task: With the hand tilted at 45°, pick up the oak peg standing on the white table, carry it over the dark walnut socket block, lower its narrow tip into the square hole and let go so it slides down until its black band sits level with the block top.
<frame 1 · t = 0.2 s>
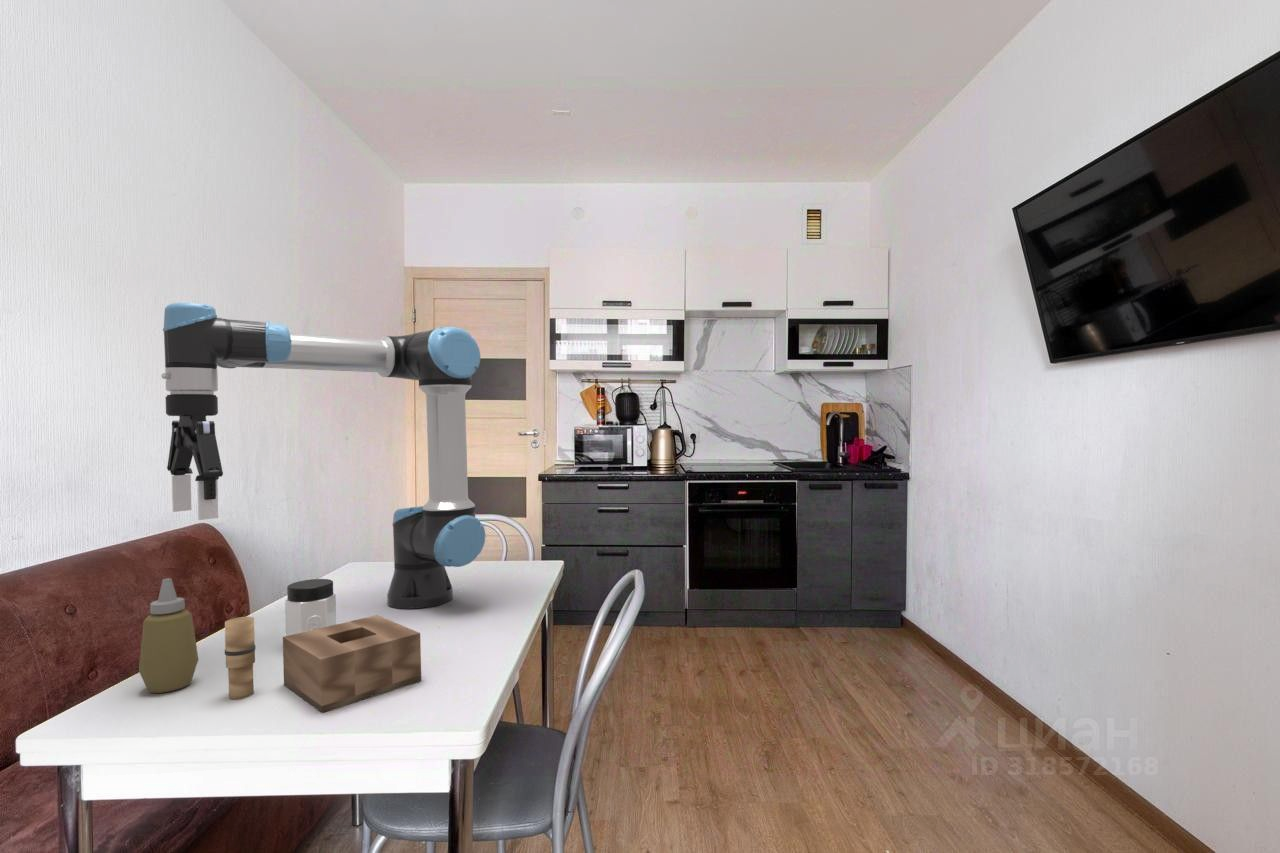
hand: (194, 514, 115), 28 cm above the table, tool pointing down, fingers open, 13 cm apart
squeeze bottle: (169, 688, 110), on the table
walnut socket block: (352, 682, 110), on the table
oak peg: (241, 694, 106), on the table
jar: (311, 645, 130), on the table
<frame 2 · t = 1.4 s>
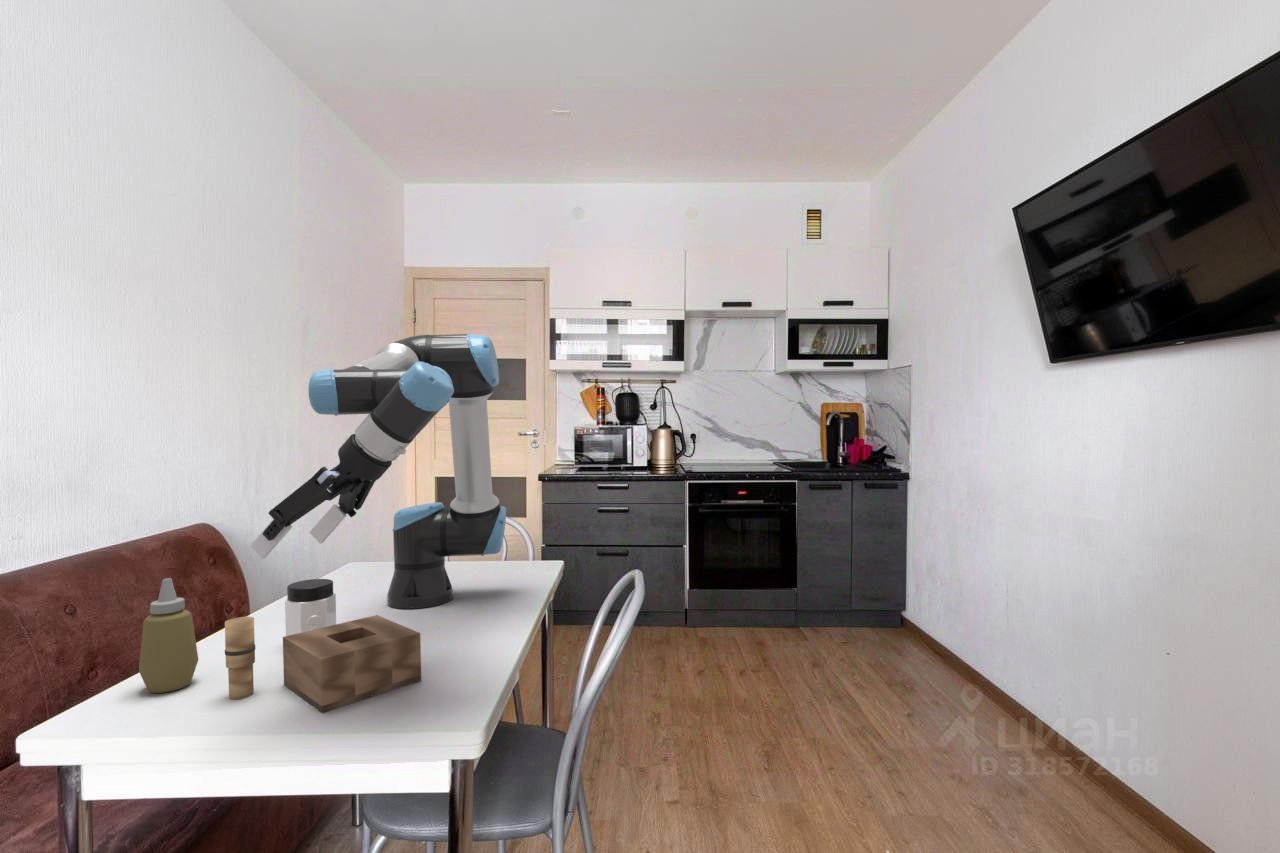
hand: (288, 544, 105), 24 cm above the table, tool tilted 45°, fingers open, 13 cm apart
nothing on the table moved.
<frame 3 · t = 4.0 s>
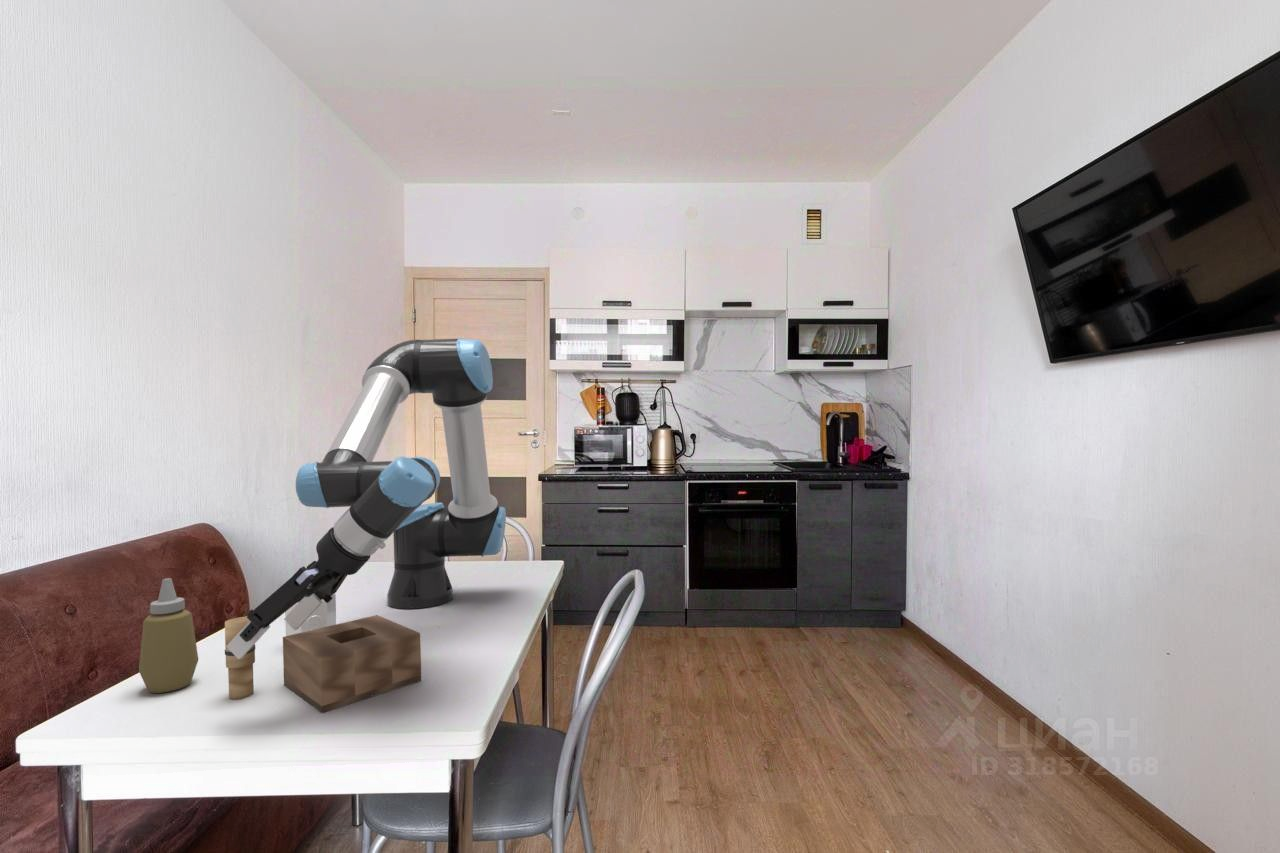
hand: (264, 637, 104), 10 cm above the table, tool tilted 45°, fingers open, 13 cm apart
nothing on the table moved.
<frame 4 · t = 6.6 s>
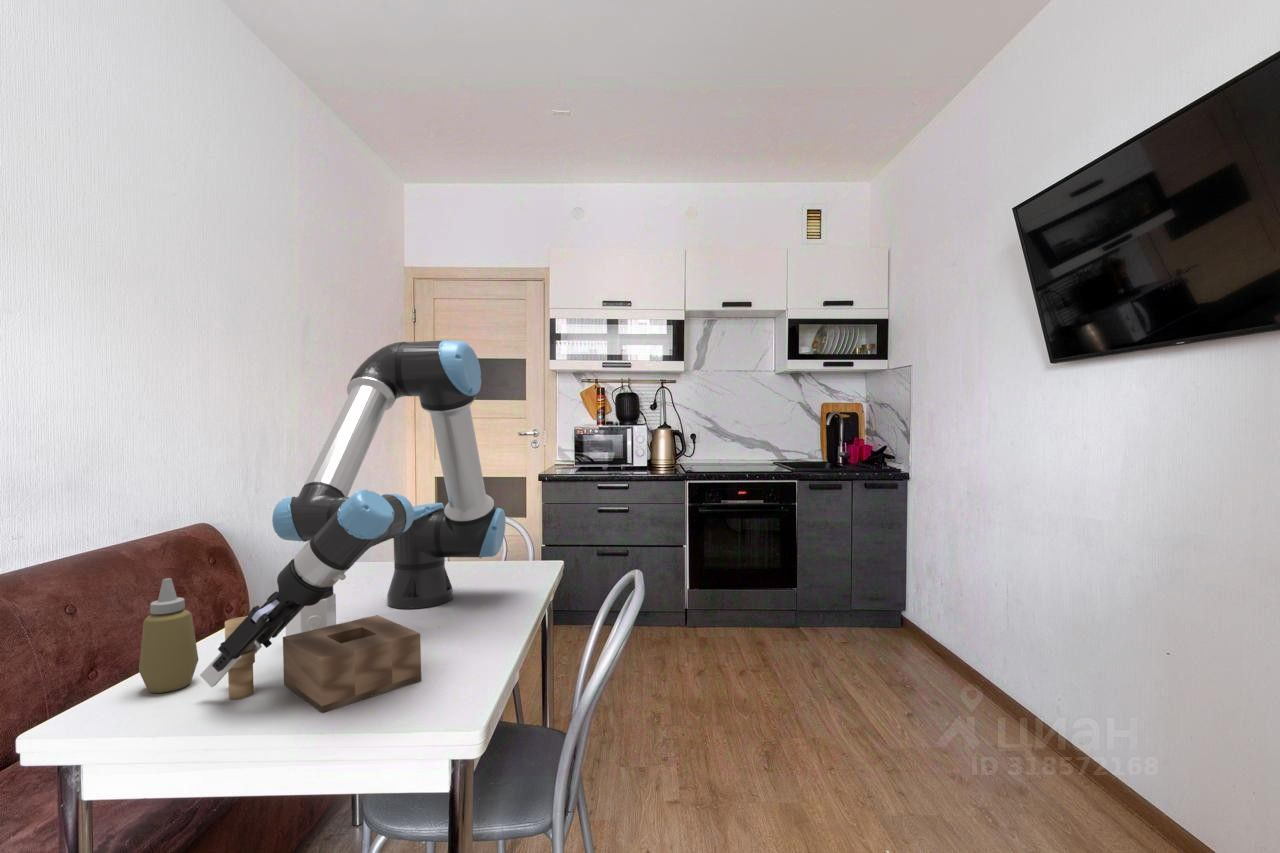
hand: (218, 674, 106), 3 cm above the table, tool tilted 45°, fingers closed on oak peg, 4 cm apart
oak peg: (241, 694, 106), on the table, touching gripper
everything else where it was.
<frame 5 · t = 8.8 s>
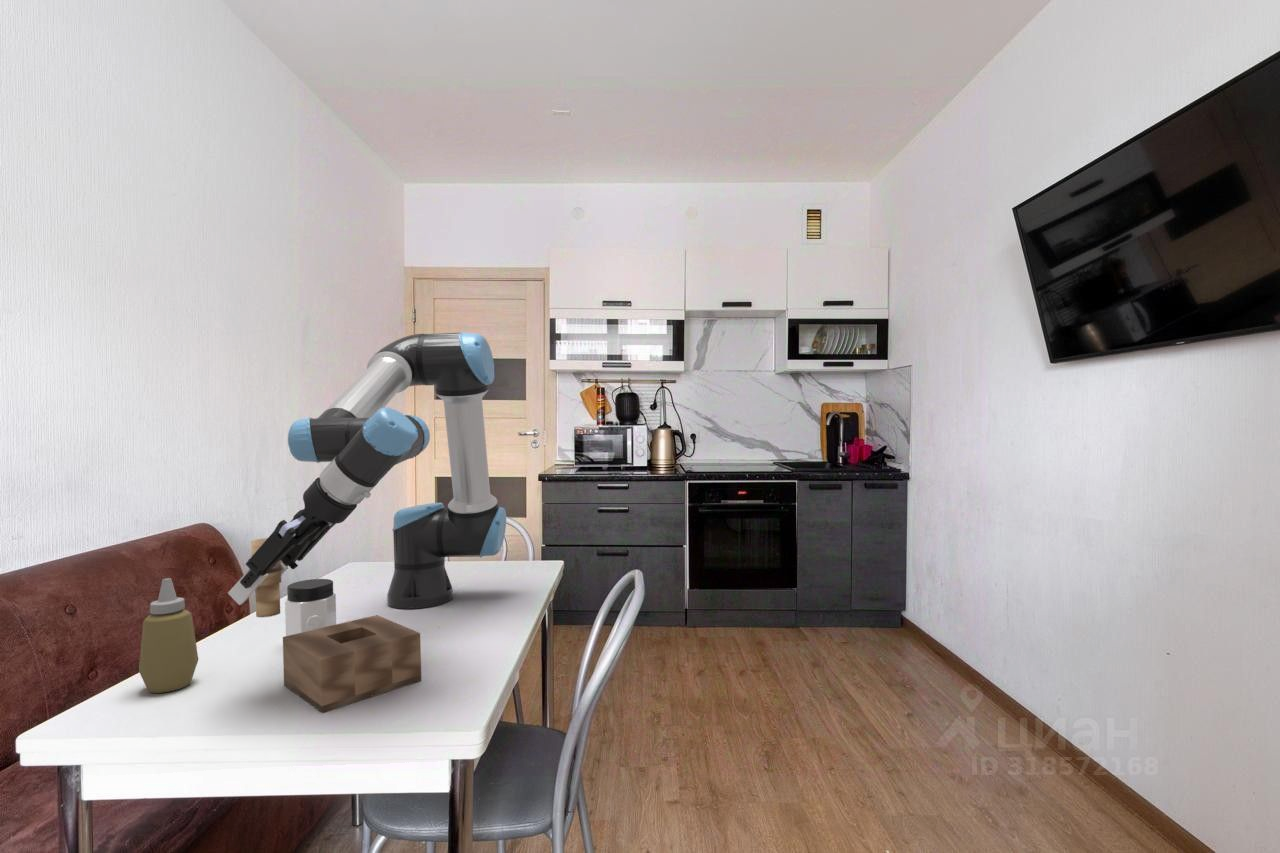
hand: (246, 594, 107), 16 cm above the table, tool tilted 45°, fingers closed on oak peg, 4 cm apart
oak peg: (268, 614, 106), point 13 cm above the table, touching gripper
everything else where it was.
when the fingers open (10 cm above the table, at t = 11.3 s): oak peg drops 6 cm, resting on walnut socket block.
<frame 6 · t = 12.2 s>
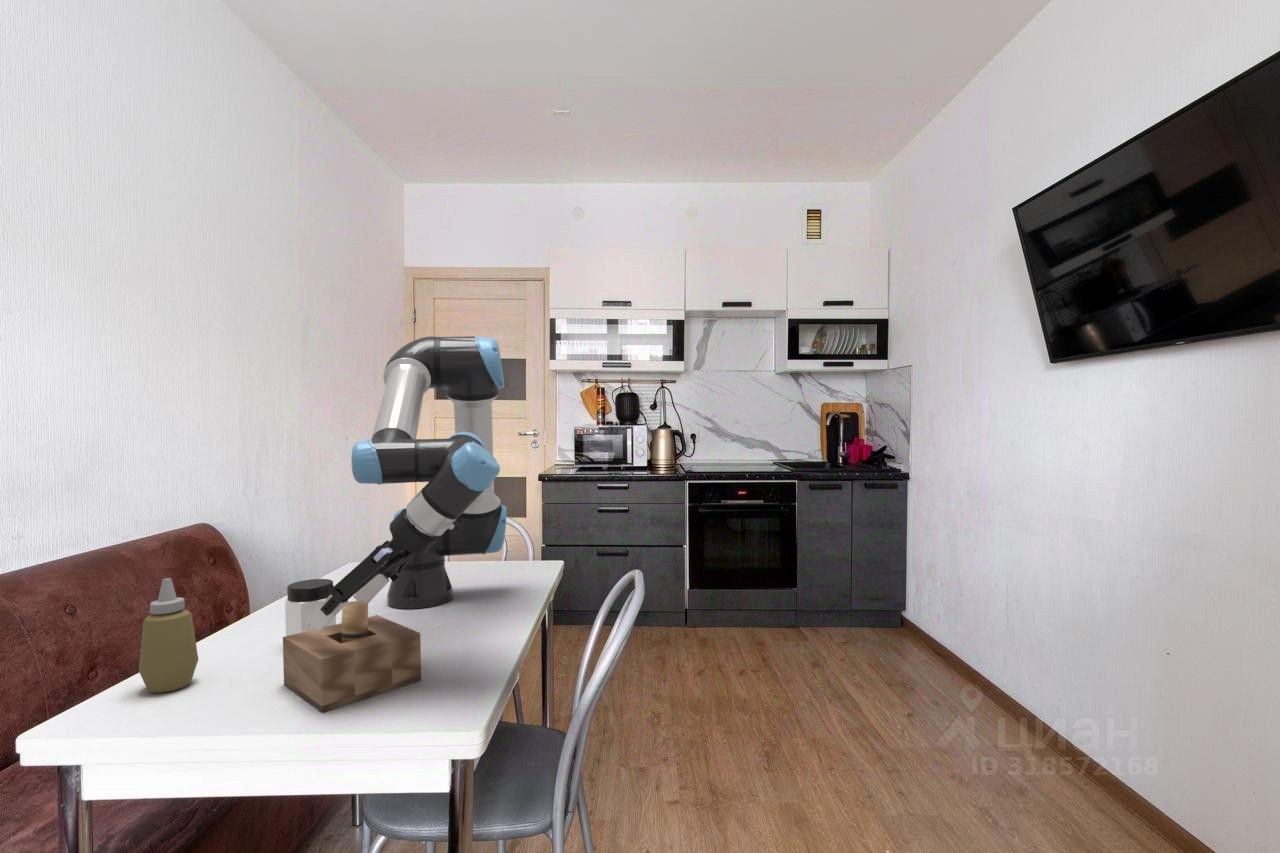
hand: (337, 612, 110), 12 cm above the table, tool tilted 45°, fingers open, 13 cm apart
oak peg: (353, 676, 110), point 1 cm above the table, touching walnut socket block
everything else where it was.
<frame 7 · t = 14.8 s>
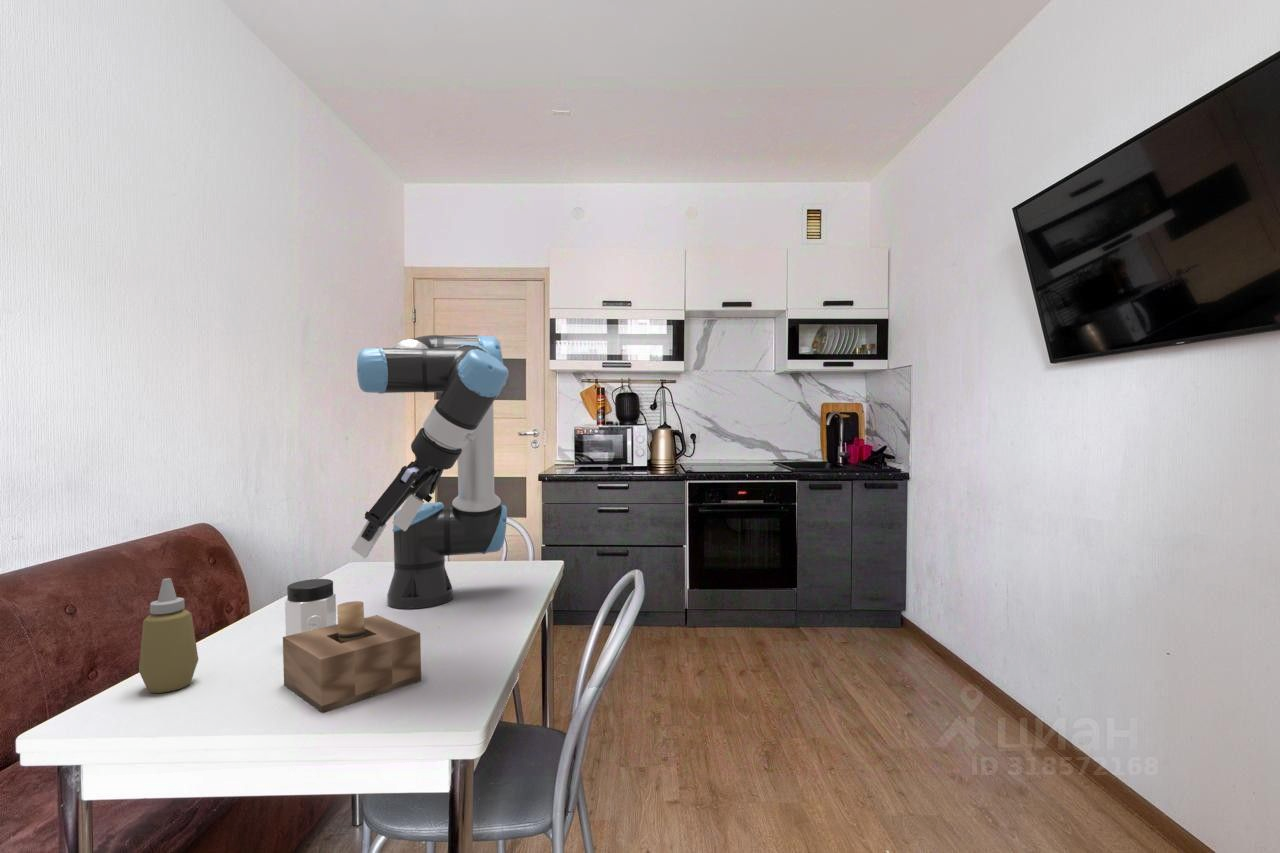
hand: (380, 539, 112), 24 cm above the table, tool tilted 35°, fingers open, 13 cm apart
nothing on the table moved.
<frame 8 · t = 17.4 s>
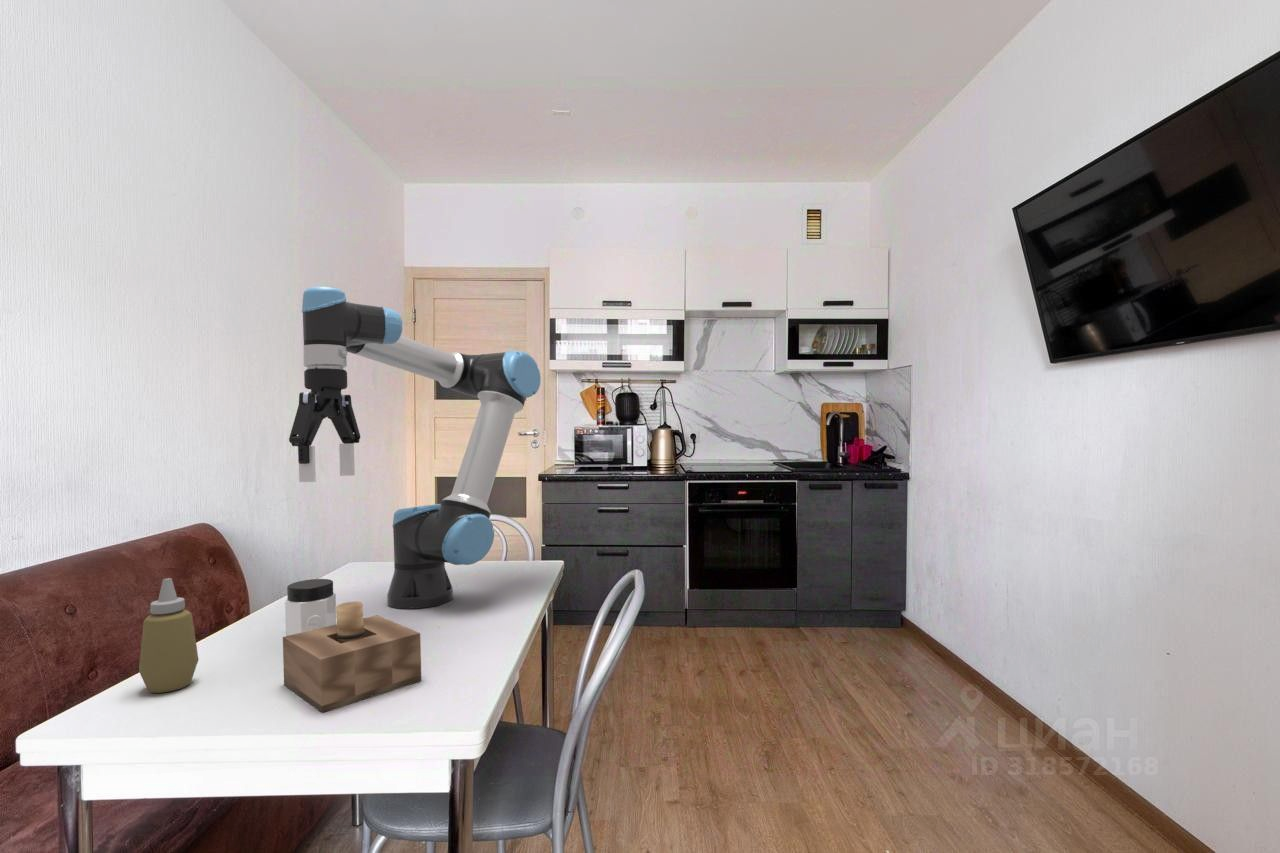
hand: (328, 478, 128), 33 cm above the table, tool pointing down, fingers open, 13 cm apart
nothing on the table moved.
at the end: oak peg 0.1 cm off-centre on the walnut socket block, point 1.0 cm above the walnut socket block's base; oak peg tilted 2°; the gripper is holding nothing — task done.
